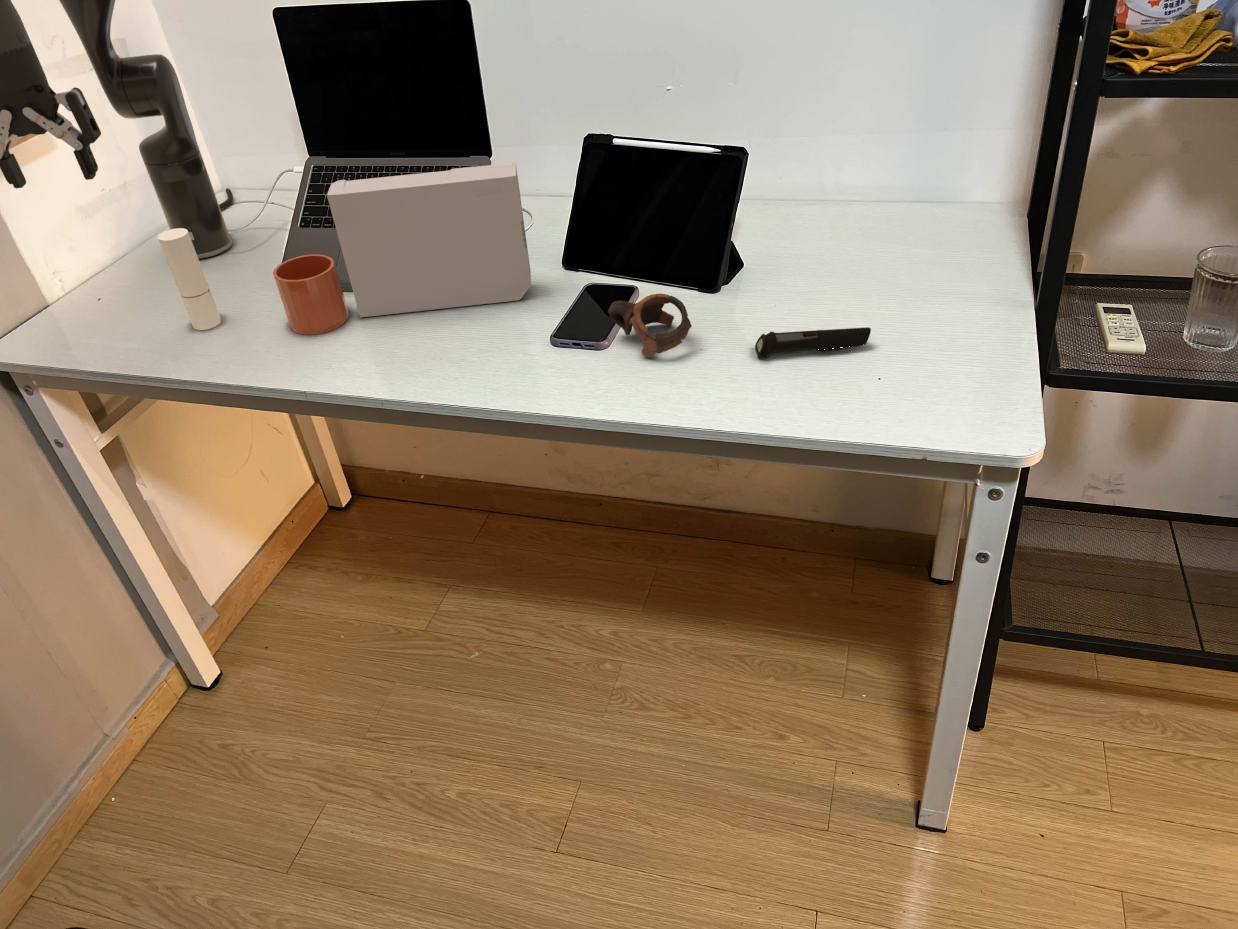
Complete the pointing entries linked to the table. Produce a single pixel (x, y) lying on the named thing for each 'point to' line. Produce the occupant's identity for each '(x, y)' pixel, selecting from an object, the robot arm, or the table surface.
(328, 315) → the pen cup
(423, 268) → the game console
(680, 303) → the brown ring bracket
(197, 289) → the tube
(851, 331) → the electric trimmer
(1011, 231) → the table surface
